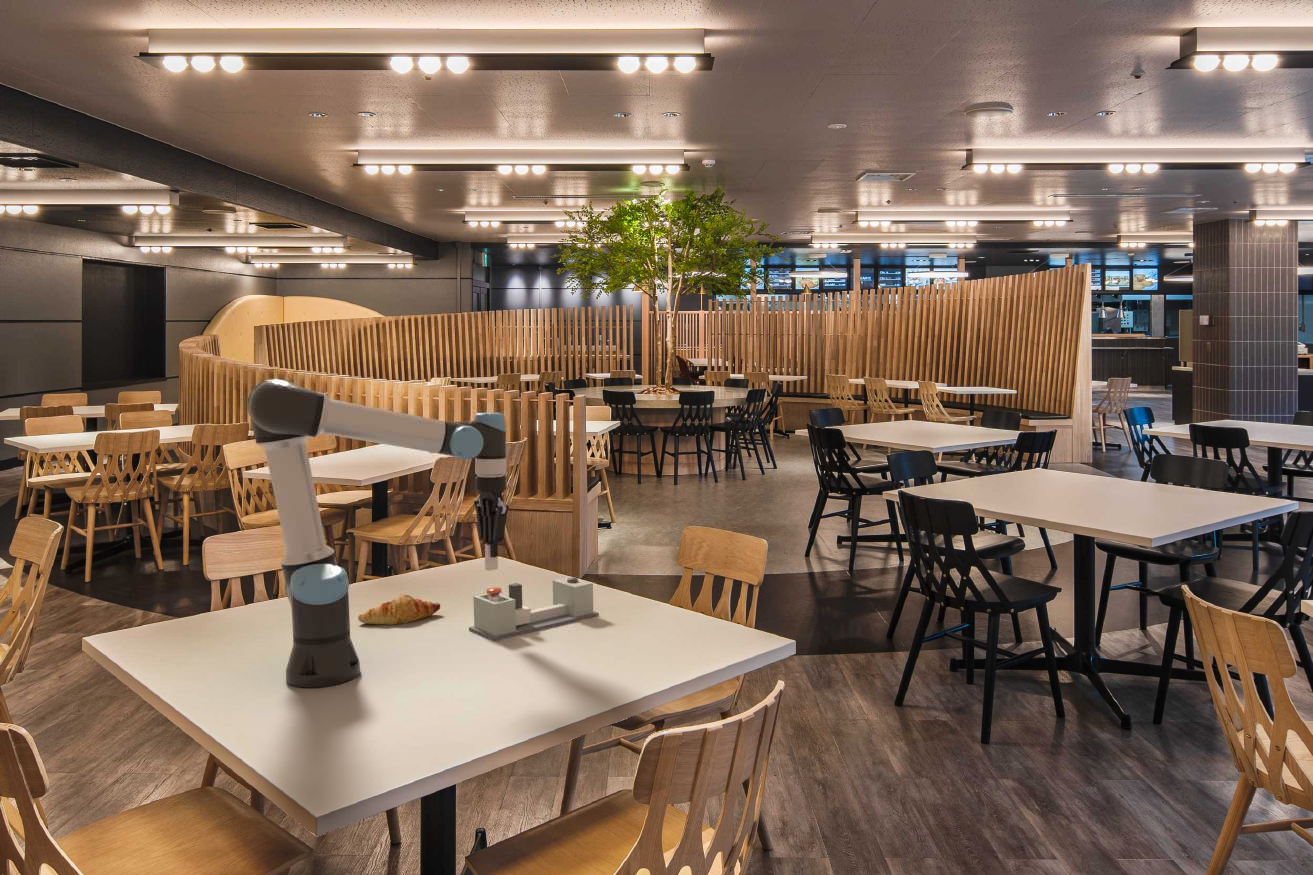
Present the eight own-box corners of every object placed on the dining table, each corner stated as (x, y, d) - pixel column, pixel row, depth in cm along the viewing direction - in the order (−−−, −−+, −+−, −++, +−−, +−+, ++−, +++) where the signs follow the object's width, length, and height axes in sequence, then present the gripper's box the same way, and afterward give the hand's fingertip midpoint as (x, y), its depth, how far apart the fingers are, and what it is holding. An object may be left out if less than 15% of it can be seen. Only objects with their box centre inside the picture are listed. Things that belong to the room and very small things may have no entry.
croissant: (360, 641, 234) (361, 618, 230) (354, 614, 242) (355, 591, 237) (443, 627, 243) (445, 605, 239) (435, 602, 251) (436, 580, 247)
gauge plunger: (492, 626, 226) (491, 592, 225) (484, 623, 228) (483, 589, 228) (504, 623, 228) (503, 589, 227) (497, 620, 231) (496, 586, 230)
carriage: (514, 626, 228) (513, 588, 228) (501, 621, 233) (500, 584, 232) (531, 622, 232) (530, 585, 231) (518, 617, 236) (517, 580, 235)
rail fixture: (493, 641, 221) (492, 602, 220) (468, 630, 230) (467, 593, 230) (598, 615, 242) (598, 580, 241) (572, 606, 251) (571, 572, 250)
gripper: (518, 476, 222) (518, 571, 224) (490, 471, 232) (491, 562, 234) (491, 478, 218) (491, 576, 219) (464, 473, 227) (465, 566, 229)
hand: (491, 569), depth 227 cm, fingers closed
